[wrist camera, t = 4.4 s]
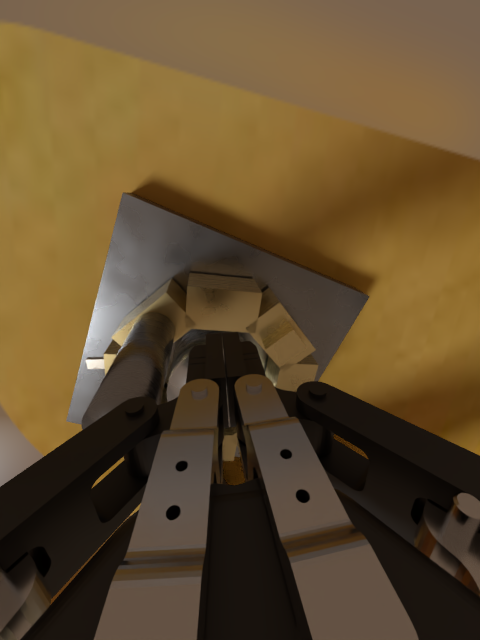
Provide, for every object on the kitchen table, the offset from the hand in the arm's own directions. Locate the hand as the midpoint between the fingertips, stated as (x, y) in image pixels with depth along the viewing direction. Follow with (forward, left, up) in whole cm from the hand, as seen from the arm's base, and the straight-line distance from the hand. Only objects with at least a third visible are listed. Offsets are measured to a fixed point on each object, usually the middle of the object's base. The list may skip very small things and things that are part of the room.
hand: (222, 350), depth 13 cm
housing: (-2, +5, -9) cm, 10 cm away
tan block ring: (-2, +5, -7) cm, 9 cm away
